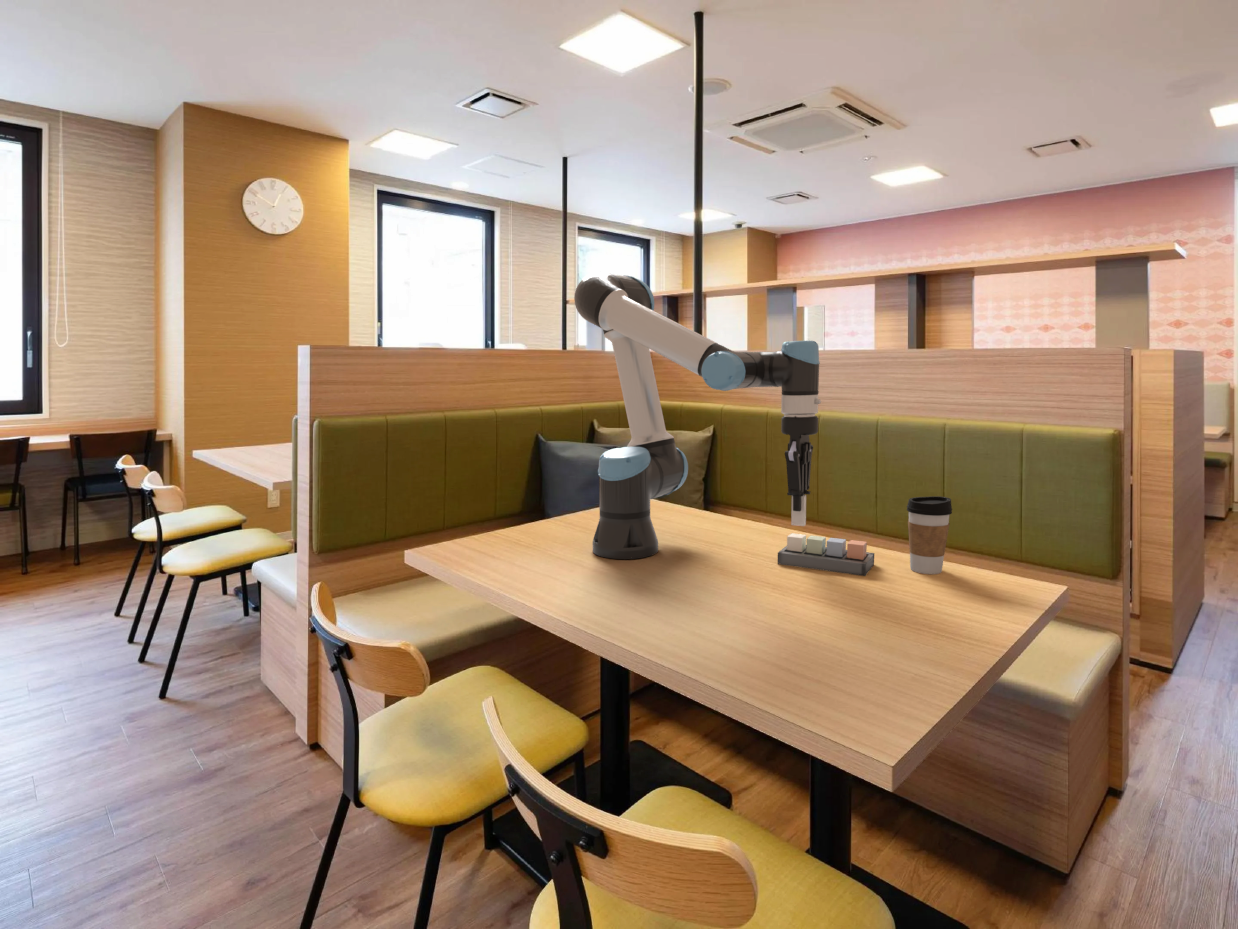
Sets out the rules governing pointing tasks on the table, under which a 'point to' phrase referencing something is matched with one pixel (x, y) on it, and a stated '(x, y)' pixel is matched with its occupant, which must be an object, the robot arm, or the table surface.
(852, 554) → the key terracotta
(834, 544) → the key slate
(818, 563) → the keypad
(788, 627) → the table surface
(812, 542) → the key sage
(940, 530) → the coffee cup
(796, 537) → the key cream
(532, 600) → the table surface
